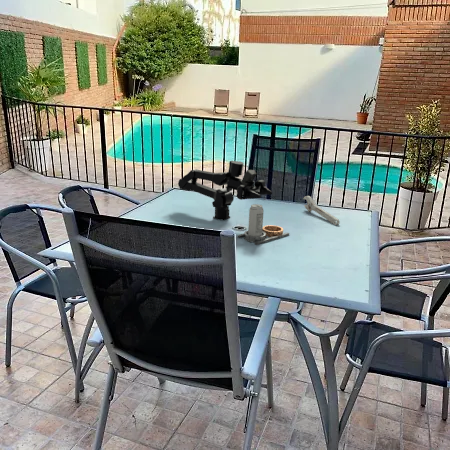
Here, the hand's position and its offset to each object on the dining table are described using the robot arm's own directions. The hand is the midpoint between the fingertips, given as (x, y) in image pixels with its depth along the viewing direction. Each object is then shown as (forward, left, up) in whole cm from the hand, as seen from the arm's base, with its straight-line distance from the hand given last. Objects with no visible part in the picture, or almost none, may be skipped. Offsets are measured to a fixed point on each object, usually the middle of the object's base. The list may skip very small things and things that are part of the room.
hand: (266, 194), depth 193 cm
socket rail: (+4, -8, -17) cm, 19 cm away
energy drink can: (+3, -14, -17) cm, 22 cm away
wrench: (+13, +37, -17) cm, 43 cm away
